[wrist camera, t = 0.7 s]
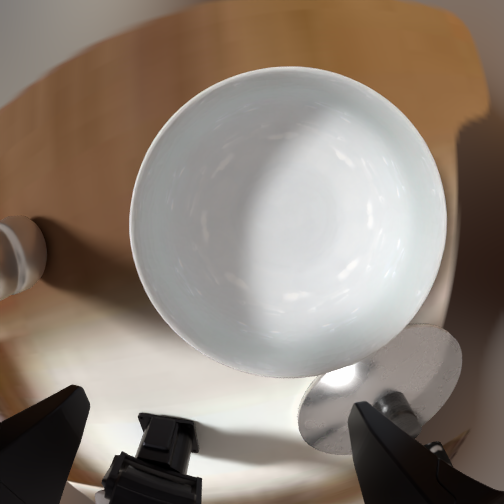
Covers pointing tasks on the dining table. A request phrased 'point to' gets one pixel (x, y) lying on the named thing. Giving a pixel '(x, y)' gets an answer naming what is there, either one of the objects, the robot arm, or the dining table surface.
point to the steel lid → (384, 387)
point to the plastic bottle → (20, 255)
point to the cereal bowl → (288, 222)
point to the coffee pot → (101, 498)
